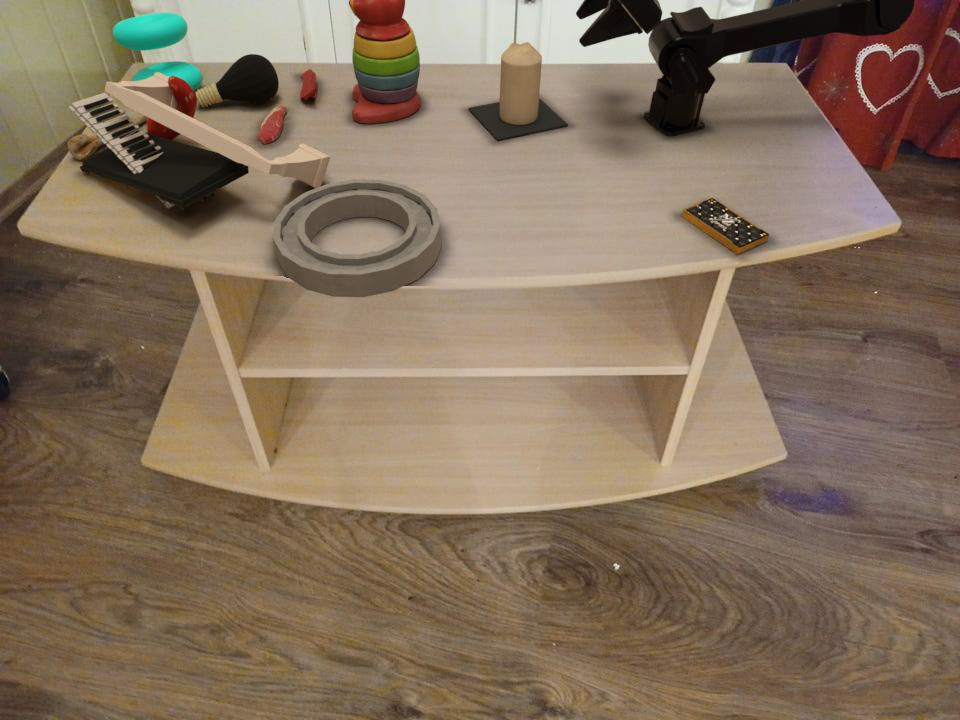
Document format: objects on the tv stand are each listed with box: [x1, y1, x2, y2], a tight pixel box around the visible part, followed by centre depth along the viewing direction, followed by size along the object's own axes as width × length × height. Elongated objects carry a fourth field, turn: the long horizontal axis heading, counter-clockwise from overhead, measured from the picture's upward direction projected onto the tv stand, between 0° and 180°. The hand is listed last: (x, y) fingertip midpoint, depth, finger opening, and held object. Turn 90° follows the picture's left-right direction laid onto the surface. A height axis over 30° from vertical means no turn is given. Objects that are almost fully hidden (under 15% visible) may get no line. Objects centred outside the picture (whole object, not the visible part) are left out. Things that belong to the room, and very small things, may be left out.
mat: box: [468, 97, 569, 142], centre depth 105 cm, size 11×10×1 cm
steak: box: [256, 104, 288, 145], centre depth 102 cm, size 10×1×3 cm
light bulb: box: [195, 53, 280, 108], centre depth 105 cm, size 7×7×12 cm
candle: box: [499, 41, 543, 125], centre depth 101 cm, size 6×6×10 cm
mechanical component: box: [272, 178, 442, 298], centre depth 82 cm, size 18×18×3 cm
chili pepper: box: [299, 69, 318, 101], centre depth 109 cm, size 12×5×2 cm
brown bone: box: [67, 113, 149, 161], centre depth 100 cm, size 17×3×3 cm
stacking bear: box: [348, 0, 421, 125], centre depth 101 cm, size 11×10×18 cm
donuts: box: [112, 12, 204, 91], centre depth 105 cm, size 10×10×10 cm
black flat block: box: [681, 197, 770, 255], centre depth 86 cm, size 9×1×5 cm
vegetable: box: [145, 76, 198, 141], centre depth 95 cm, size 4×5×12 cm
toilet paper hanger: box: [104, 72, 331, 189], centre depth 88 cm, size 26×10×4 cm
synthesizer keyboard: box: [68, 92, 250, 211], centre depth 89 cm, size 22×10×10 cm, turn 54°
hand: (579, 29), depth 96 cm, fingers open, 9 cm apart
